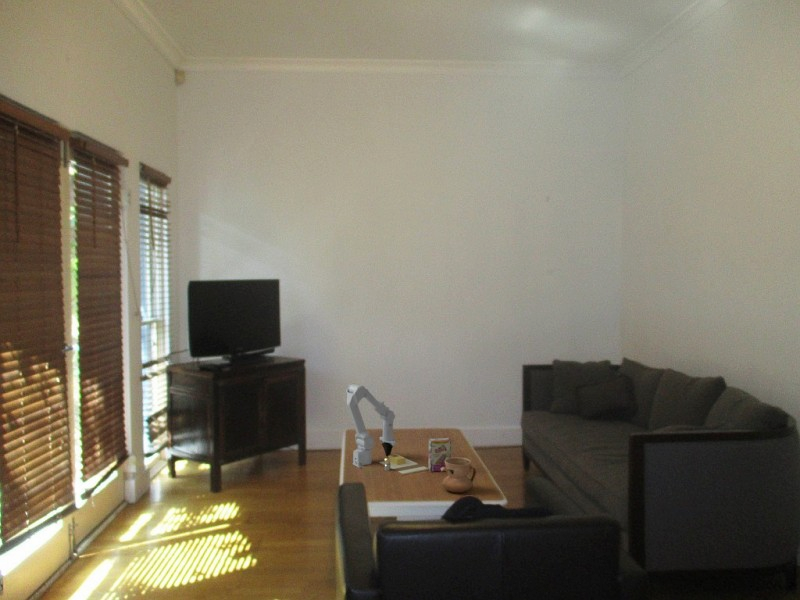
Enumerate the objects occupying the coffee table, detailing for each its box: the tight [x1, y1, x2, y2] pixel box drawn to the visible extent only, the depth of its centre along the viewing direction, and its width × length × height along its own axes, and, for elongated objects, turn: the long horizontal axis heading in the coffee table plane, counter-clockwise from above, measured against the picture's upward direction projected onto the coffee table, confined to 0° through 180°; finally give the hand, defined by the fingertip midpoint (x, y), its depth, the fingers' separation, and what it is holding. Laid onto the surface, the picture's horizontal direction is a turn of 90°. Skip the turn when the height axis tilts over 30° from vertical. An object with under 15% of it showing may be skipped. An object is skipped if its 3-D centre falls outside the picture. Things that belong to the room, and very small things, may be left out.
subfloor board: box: [378, 457, 429, 477], centre depth 359 cm, size 16×24×1 cm, turn 32°
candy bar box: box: [427, 437, 452, 473], centre depth 353 cm, size 11×5×16 cm, turn 102°
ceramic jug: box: [440, 456, 477, 493], centre depth 322 cm, size 18×14×14 cm
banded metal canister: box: [383, 456, 391, 472], centre depth 351 cm, size 3×3×7 cm
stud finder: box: [388, 453, 406, 465], centre depth 364 cm, size 5×9×3 cm, turn 32°
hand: (388, 456), depth 372 cm, fingers closed
